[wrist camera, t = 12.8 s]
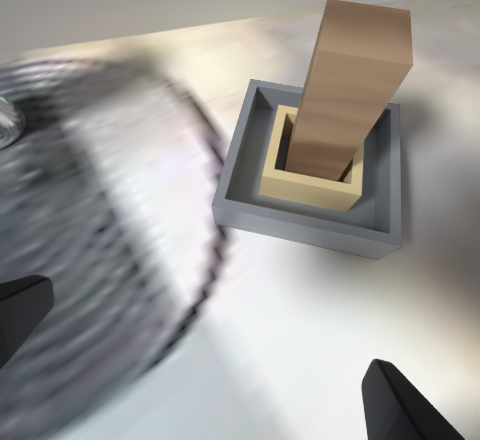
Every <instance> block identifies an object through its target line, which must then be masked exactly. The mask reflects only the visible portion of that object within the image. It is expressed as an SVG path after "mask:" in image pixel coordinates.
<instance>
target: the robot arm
mask: <svg viewBox="0 0 480 440" xmlns="http://www.w3.org/2000/svg"><path fill="white" fill-rule="evenodd" d="M54 302H55V299H54V290H53V282H52V280H51V278H49V277H46V276H42V275H31V276H27V277H23V278H20V279H16V280H12V281H9V282H5V283H1V284H0V370H1V369H2V368H3V366H4V365H5V364H6V363H7V362H8V361H9V360H10V359H11V358H12V357H13V355H14V354H15V353H16V352H17V351H18V350H19V348H20V347H21V346H22V345H23V343H24V342H25V341H26V340H27V339H28V337H29V336H30V335H31V334H32V332H33V331H34V330H35V329H36V328H37V326H38V325H39V324H40V323H41V321H42V320H43V319H44V318H45V317H46V315H47V314H48V313H49V312H50V310H51V309H52V307H53V305H54ZM362 397H363V405H364V413H365V420H366V428H367V436H368V440H465V439H464V438H463V437H462V436H461V435H460V434H459V433H458V431H457V430H456V429H455V428H454V427H453V426H452V425H451V424H450V423H449V422H448V421H447V420H446V419H445V418H444V417H443V416H442V415H441V414H440V413H439V412H438V411H437V409H436V408H435V407H434V406H433V405H432V404H431V403H430V402H429V401H428V400H427V399H426V398H425V397H424V396H423V395H422V394H421V393H420V392H419V391H418V390H417V389H416V388H415V386H414V385H413V384H412V383H411V382H410V381H409V380H408V379H407V378H406V377H405V376H404V375H403V374H402V373H401V372H400V371H399V370H398V369H397V368H396V367H395V366H394V365H393V364H392V363H391V362H388V361H384V360H380V359H374V360H372V362H371V364H370V366H369V368H368V370H367V372H366V374H365V376H364V378H363V380H362Z"/></svg>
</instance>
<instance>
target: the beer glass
mask: <svg viewBox="0 0 480 440" xmlns="http://www.w3.org/2000/svg"><path fill="white" fill-rule="evenodd" d="M25 127H26V117H25V115H24V113H23V112H22V111H21V110H20V109H19V108H18V107H17V106H16V105H14V104H13V103H12V102H10V101H9V100H8V99H6V98H5V97H4V96H2V95H1V94H0V149H2V148H5V147H7V146H9V145H10V144H12V143H13V142H15V141H16V140H17V139H18V138H19V137H20V136H21V134H22V133H23V131H24V129H25Z"/></svg>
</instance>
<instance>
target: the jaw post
mask: <svg viewBox="0 0 480 440" xmlns="http://www.w3.org/2000/svg"><path fill="white" fill-rule="evenodd" d="M412 66H413V55H412V36H411V18H410V10H403V9H396V8H389V7H382V6H375V5H367V4H360V3H354V2H347V1H339V0H327V3H326V7H325V10H324V14H323V18H322V22H321V25H320V29H319V33H318V36H317V40H316V44H315V47H314V51H313V55H312V59H311V62H310V66H309V70H308V73H307V77H306V81H305V84H304V88H303V92H302V95H301V99H300V103H299V107H298V110H297V114H296V118H295V121H294V125H293V129H292V132H291V136H290V140H289V144H288V149H287V154H286V159H285V164H284V169H283V171H286V172H291V173H296V174H301V175H306V176H311V177H316V178H321V179H327V180H332V181H338V179H339V178H340V176H341V175H342V173H343V172H344V170H345V169H346V167H347V166H348V164H349V163H350V161H351V160H352V158H353V156H354V155H355V153H356V152H357V150H358V149H359V147H360V146H361V144H362V143H363V141H364V140H365V138H366V137H367V135H368V133H369V132H370V130H371V129H372V127H373V126H374V124H375V123H376V121H377V120H378V118H379V117H380V115H381V114H382V112H383V110H384V109H385V107H386V106H387V104H388V103H389V101H390V100H391V98H392V97H393V95H394V94H395V92H396V91H397V89H398V87H399V86H400V84H401V83H402V81H403V80H404V78H405V77H406V75H407V74H408V72H409V71H410V69H411V68H412Z"/></svg>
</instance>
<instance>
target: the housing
mask: <svg viewBox="0 0 480 440" xmlns="http://www.w3.org/2000/svg"><path fill="white" fill-rule="evenodd" d="M302 92H303V88H300V87H295V86H289V85H283V84H277V83H271V82H266V81H260V80H254V79H250V82H249V86H248V89H247V92H246V95H245V99H244V102H243V105H242V108H241V112H240V115H239V118H238V121H237V125H236V128H235V131H234V135H233V138H232V141H231V144H230V148H229V151H228V154H227V157H226V161H225V164H224V167H223V170H222V174H221V177H220V180H219V183H218V187H217V190H216V193H215V196H214V200H213V203H212V211H213V216H214V221H215V224H218V225H223V226H227V227H232V228H236V229H241V230H245V231H250V232H255V233H259V234H264V235H268V236H273V237H277V238H282V239H286V240H291V241H295V242H300V243H305V244H309V245H314V246H318V247H323V248H327V249H332V250H336V251H341V252H346V253H350V254H355V255H359V256H364V257H368V258H373V259H377V260H378V259H380V258H382V257H383V256H385V255H387V254H389V253H391V252H393V251H395V250H396V249H398V248H400V247H402V229H401V164H400V105H399V104H393V103H388V104H387V106H386V107H385V109H384V110H383V112H382V114H381V115H380V117H379V118H378V120H377V121H376V123H375V124H374V126H373V127H372V129H371V130H370V132H369V133H368V135H367V137H366V138H365V140H364V141H363V143H362V144H361V146H360V147H359V149H358V150H357V152H356V153H355V155H354V156H353V158H352V160H351V161H350V163H349V164H348V166H347V167H346V169H345V170H344V172H343V173H342V175H341V176H340V178H339V179H338V181H332V180H327V179H321V178H316V177H311V176H306V175H301V174H296V173H291V172H286V171H283V169H284V164H285V159H286V154H287V149H288V144H289V140H290V136H291V132H292V129H293V125H294V121H295V118H296V114H297V110H298V107H299V103H300V99H301V95H302Z"/></svg>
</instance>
